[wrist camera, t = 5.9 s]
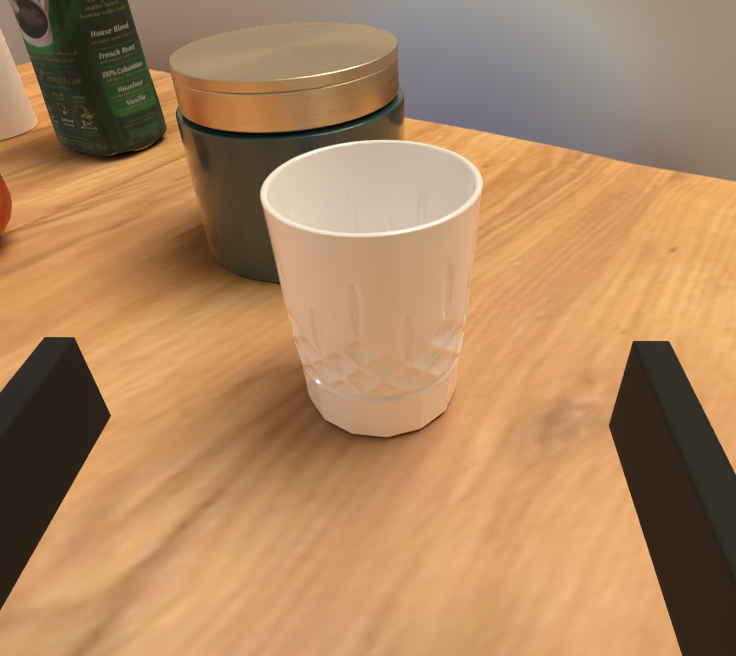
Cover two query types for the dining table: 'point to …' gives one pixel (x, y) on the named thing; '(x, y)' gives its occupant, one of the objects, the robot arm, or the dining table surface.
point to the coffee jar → (91, 73)
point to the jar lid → (286, 76)
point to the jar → (260, 179)
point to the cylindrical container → (13, 98)
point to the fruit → (4, 205)
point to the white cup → (376, 276)
